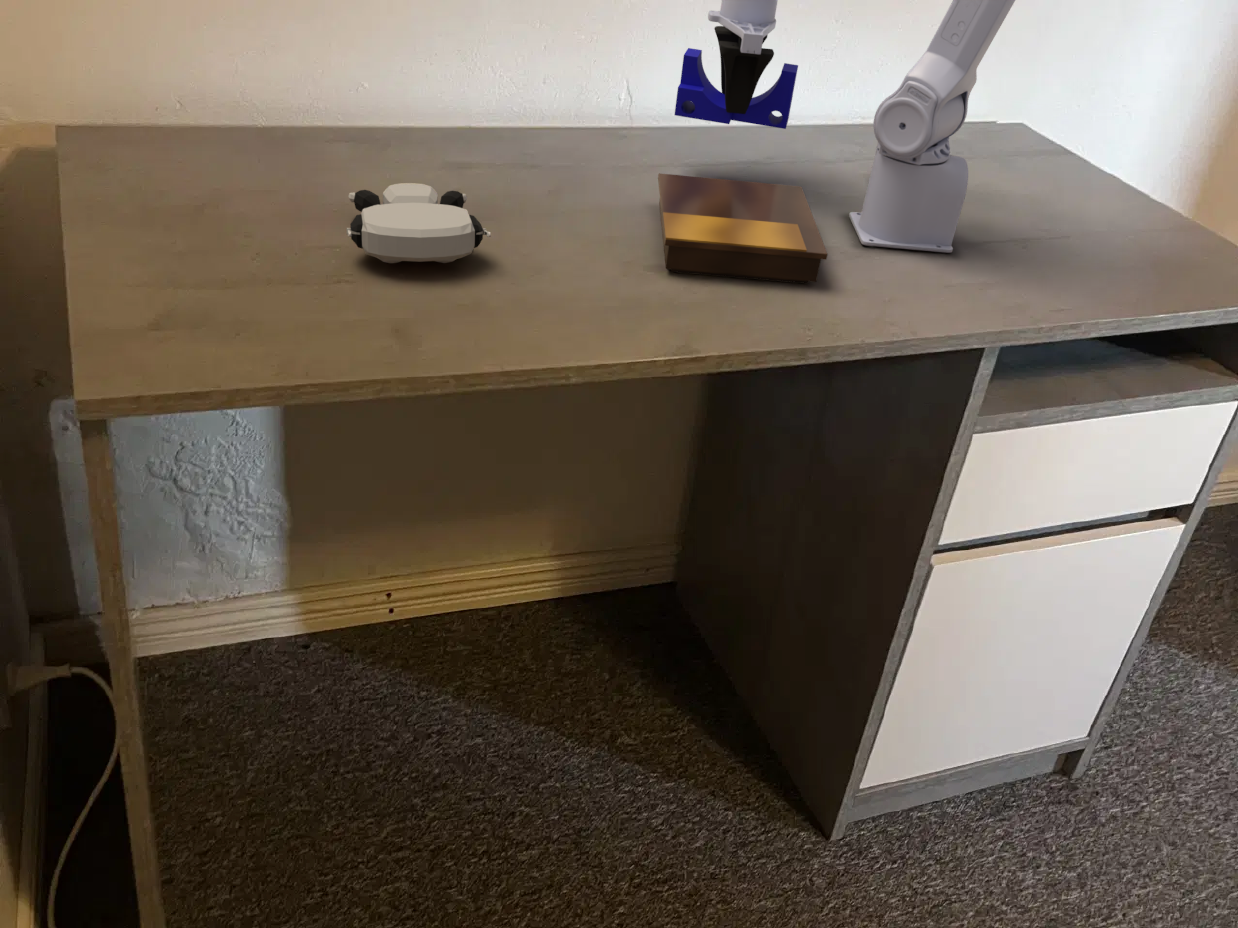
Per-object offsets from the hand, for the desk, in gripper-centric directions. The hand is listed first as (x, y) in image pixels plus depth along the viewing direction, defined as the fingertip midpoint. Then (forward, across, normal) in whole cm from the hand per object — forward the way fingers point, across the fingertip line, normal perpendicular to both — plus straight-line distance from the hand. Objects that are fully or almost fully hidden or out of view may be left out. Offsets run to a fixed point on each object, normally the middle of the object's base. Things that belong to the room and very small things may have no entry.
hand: (733, 104), depth 124 cm
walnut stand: (+8, +18, 0) cm, 20 cm away
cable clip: (+2, 0, 0) cm, 2 cm away
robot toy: (+9, +25, -31) cm, 41 cm away
